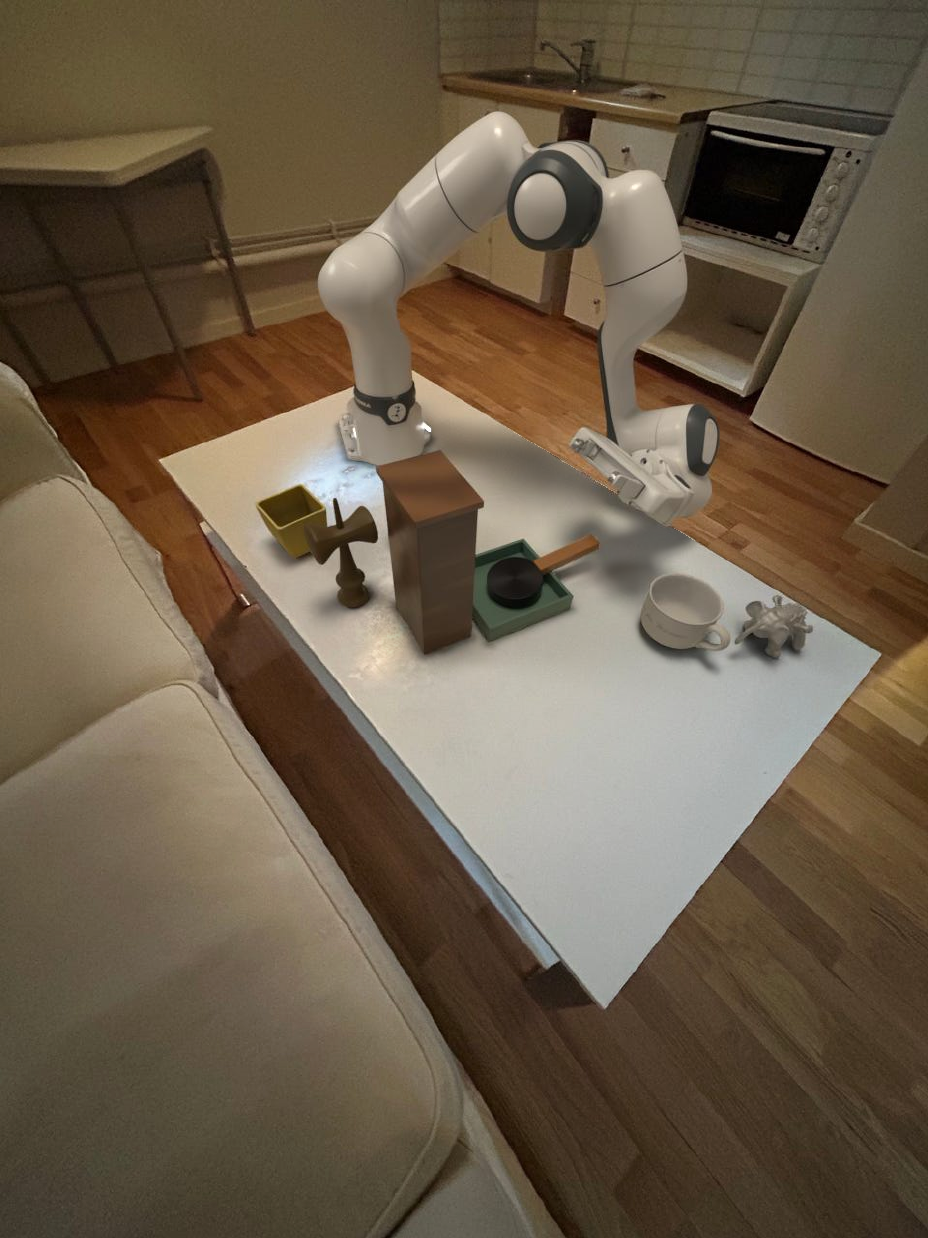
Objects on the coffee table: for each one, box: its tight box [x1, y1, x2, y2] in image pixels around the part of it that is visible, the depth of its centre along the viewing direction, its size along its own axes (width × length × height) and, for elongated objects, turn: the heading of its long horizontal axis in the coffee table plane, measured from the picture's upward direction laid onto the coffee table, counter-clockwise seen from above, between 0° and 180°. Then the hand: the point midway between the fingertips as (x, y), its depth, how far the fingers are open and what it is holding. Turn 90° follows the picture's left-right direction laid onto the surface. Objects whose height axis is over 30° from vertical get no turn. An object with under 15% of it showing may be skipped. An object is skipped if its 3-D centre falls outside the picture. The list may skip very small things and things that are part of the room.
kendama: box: [303, 497, 379, 608], centre depth 81 cm, size 6×10×20 cm, turn 122°
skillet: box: [487, 533, 601, 608], centre depth 89 cm, size 9×20×3 cm, turn 117°
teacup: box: [640, 572, 731, 652], centre depth 81 cm, size 14×11×8 cm
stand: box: [375, 449, 485, 655], centre depth 76 cm, size 12×9×26 cm
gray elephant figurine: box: [733, 594, 814, 659], centre depth 81 cm, size 9×12×8 cm
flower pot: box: [254, 483, 328, 559], centre depth 92 cm, size 9×9×9 cm
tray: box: [472, 538, 574, 642], centre depth 89 cm, size 15×15×3 cm
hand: (592, 460), depth 77 cm, fingers open, 8 cm apart
